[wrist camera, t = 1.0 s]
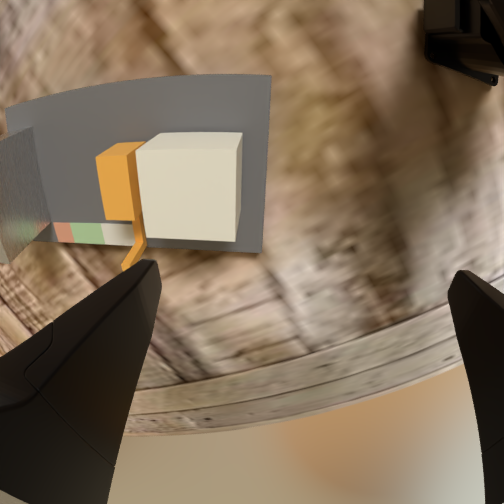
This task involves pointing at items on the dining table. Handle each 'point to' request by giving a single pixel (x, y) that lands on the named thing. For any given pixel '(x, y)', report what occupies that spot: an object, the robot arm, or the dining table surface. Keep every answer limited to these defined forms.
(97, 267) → the dining table surface
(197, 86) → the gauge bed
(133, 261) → the needle rider
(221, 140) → the block
